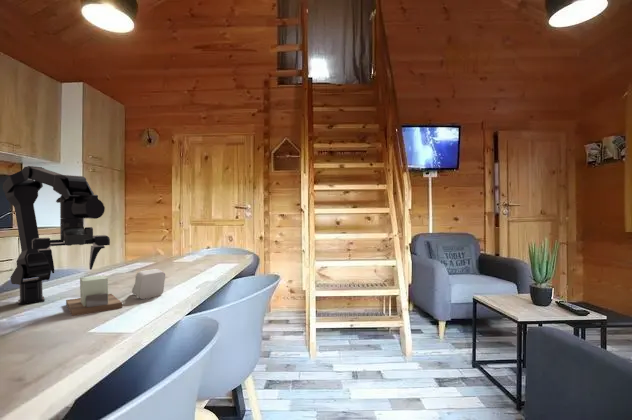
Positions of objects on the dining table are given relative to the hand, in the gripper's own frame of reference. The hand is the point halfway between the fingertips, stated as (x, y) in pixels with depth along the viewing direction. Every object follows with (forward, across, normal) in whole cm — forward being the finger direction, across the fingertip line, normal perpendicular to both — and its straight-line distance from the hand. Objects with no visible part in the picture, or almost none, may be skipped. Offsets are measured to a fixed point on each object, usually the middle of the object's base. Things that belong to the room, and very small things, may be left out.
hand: (72, 271), depth 109 cm
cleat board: (+10, +5, -4) cm, 12 cm away
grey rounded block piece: (+10, +20, 0) cm, 22 cm away
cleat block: (+9, +5, -6) cm, 12 cm away
